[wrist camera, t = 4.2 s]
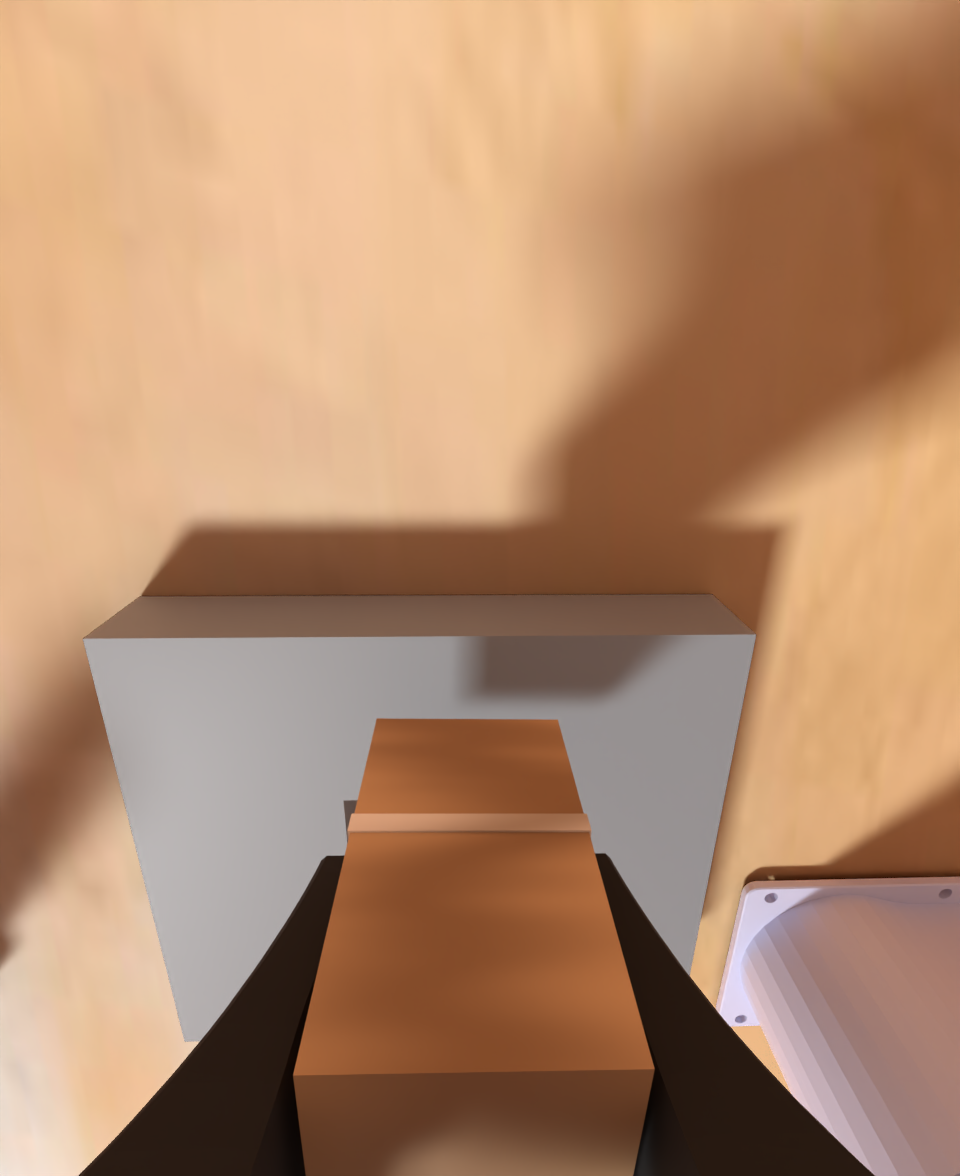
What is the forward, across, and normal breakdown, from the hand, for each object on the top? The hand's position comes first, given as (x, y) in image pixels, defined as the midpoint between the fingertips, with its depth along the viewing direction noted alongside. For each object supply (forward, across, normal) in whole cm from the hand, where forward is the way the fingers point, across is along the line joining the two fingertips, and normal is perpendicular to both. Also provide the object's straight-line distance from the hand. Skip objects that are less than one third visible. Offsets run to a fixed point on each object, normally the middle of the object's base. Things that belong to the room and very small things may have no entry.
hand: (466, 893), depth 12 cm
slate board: (+9, +1, +5) cm, 10 cm away
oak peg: (+3, 0, 0) cm, 3 cm away
